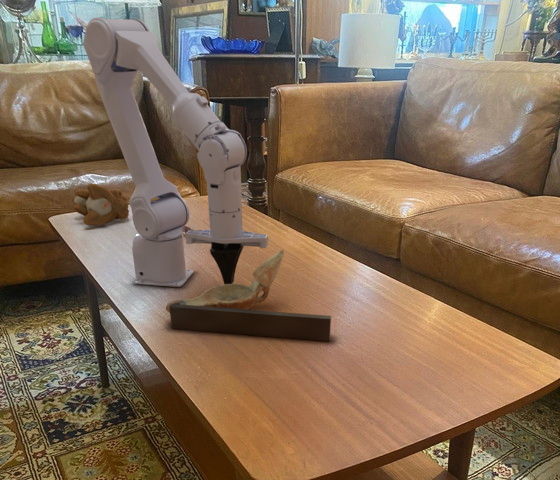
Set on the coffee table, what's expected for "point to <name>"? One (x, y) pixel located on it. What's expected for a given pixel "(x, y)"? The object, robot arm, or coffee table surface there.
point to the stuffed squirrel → (100, 205)
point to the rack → (251, 322)
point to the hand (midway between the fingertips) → (229, 282)
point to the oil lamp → (239, 289)
